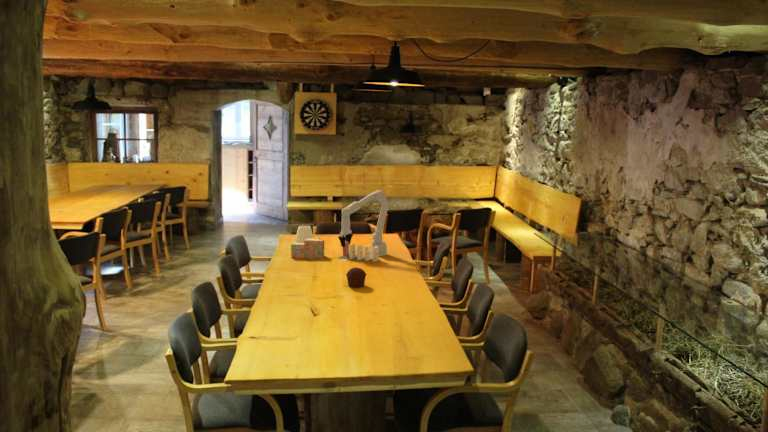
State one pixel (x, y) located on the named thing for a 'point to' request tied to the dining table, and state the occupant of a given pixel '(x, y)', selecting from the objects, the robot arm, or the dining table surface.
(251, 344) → the dining table surface
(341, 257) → the domino mat
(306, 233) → the cup
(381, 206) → the robot arm
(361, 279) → the muffin
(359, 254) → the ivory domino
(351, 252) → the ivory domino
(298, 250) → the stack of blocks
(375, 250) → the ivory domino
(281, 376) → the dining table surface
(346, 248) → the red domino
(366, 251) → the ivory domino
